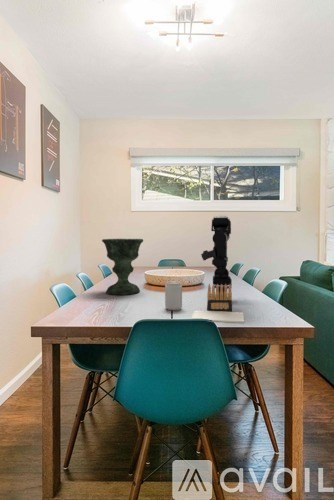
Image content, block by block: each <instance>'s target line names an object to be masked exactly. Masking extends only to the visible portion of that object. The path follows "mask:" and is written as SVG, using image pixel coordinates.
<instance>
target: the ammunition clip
mask: <svg viewBox="0 0 334 500" xmlns="http://www.w3.org/2000/svg"><path fill="white" fill-rule="evenodd" d="M211 286H212V287H211ZM219 286H220V285H218V284H217V286H216V288H215V286H214V284H213V283H212V285H211V283H208V286H207V295H206V297H207V301H206V311H223V312H233V301H232V300H233V299H232V298H233V295H232V288H231V284H229V285H228V286H229V289H227V285H226V284H225V288H224V299H223V285H222V284H221V286H220V299H219Z"/></svg>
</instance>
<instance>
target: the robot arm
mask: <svg viewBox="0 0 334 500" xmlns="http://www.w3.org/2000/svg"><path fill="white" fill-rule="evenodd" d="M211 232H214V233H213V235H212V242H213V247H212V249H211V250H203V251H202V253H201V254H200V255H201V258H202V261H207V260H208V259H211V260H212V261H211V265H213V266H214V268H215V267H216V268H215V270H214V275H213V276H212V285H213V284H214V286H215V289H216V286H217V284H218V286H219V299H220V286H221V284H222V285H223V299H224V288H225V284H226V285H227V290H229V284H231V289H232V278H231V276H230V273H229V270H228V269H227V267H228V266H227V265H228V262H229V261H228V260H229V257H228V241H229V239H230V238H231V237H230V235H231V234H232V222H231V219H230V218H229V217H228V215H218V216H217V215H215V216H214V215H213V218H211Z"/></svg>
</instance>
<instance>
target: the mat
mask: <svg viewBox="0 0 334 500" xmlns="http://www.w3.org/2000/svg"><path fill="white" fill-rule="evenodd" d="M191 318H203V319H209V320H212V321H211V322H217V323H218V322H220V323H234V324H235V323H237V324H238V323H239V324H244V323H245V317H244V312H241V311H236V312H235V311H232V312H223V311H207V310H199V309H198V310H197V309H195V310H194V312H193V314H192V316H191ZM191 318H190V319H191Z"/></svg>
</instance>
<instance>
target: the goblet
mask: <svg viewBox="0 0 334 500" xmlns="http://www.w3.org/2000/svg"><path fill="white" fill-rule="evenodd" d="M101 242H102V243H103V244H104V247H105V249H106V257H107V258H108V259H109V260H110V261H113V263H114V265H113V267H112V273H114V274H115V275H116V276H117V281H116V282H115V283H114V284H111V285H109V286H108V287H107V288H106V291H105V293H106V294H107V295H113V296H127V295H133V294H137V293H140V292H141V290H140V288H139V286H138V285H136V284H134V283H132V282H131V281H129V277H130V274H132V273H133V272H134V267H133V265H132V262H133V261H135V260H136V259H138V258H139V255H140V254H139V251H140V247H141V244H142V243H143V242H144V239H143V238H103V239H102V240H101Z"/></svg>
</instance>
